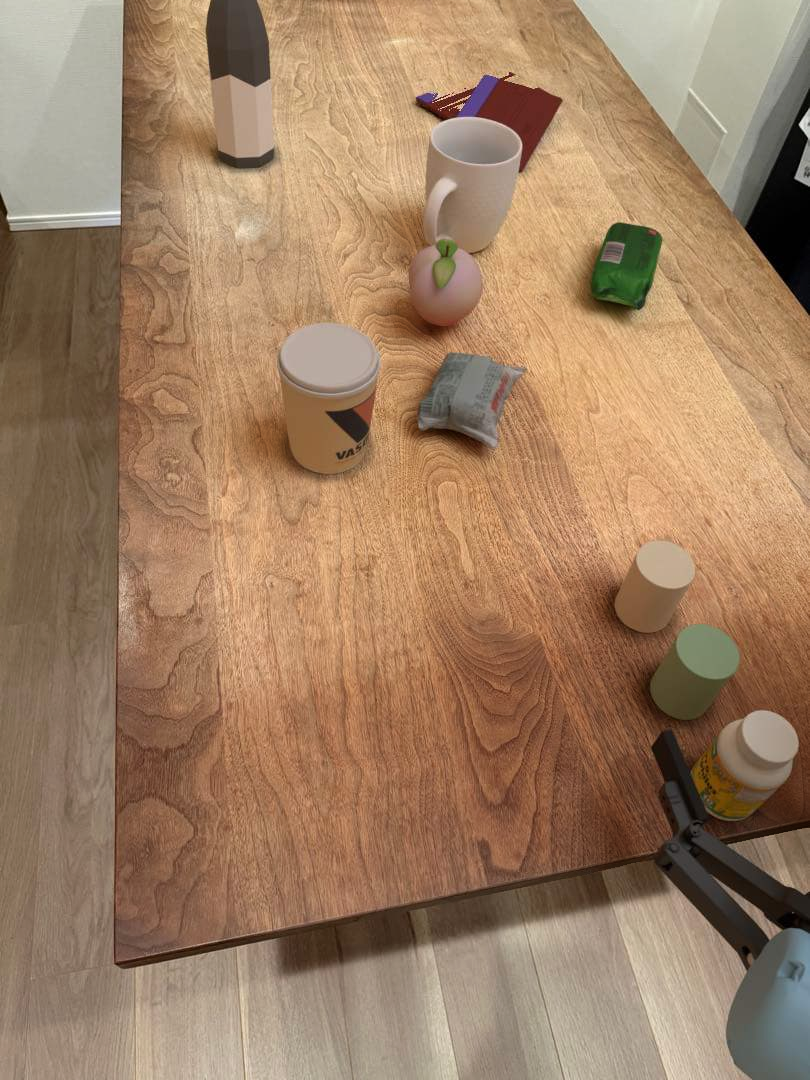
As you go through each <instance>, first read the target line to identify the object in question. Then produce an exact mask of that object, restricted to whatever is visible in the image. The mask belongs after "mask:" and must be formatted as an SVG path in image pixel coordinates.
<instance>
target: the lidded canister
mask: <svg viewBox="0 0 810 1080" xmlns="http://www.w3.org/2000/svg"><path fill="white" fill-rule="evenodd" d="M375 345H376V344H375V343H374V342H373V341H372V339H371V338H370V337H369V336H367V334H365V333H364V332H363V331H360V330H359V329H357V328H355V327H353V326H350V325H347V324H343V323H336V322H318V323H312V324H308V325H305V326H303V327H300V328H298V329H296V330H295V331H293V332H292V333H290V334H289V335H288V336H287V337H286V338H285V340H284V341H283V342H282V344H281V346H280V347H279V350H278V353H277V355H276V356H277V358H276V366H277V370H278V373H279V379H280V381H279V382H280V387H281V394H282V402H283V409H284V416H285V424H286V430H287V436H288V437H287V438H288V442H289V448H290V453H291V454H292V456H293V458H294V460H295V461H296V462H297V463H298V464H299V465H300V466H302V467H303V468H305V469H307V470H309V471H311V472H313V473H317V474H324V475H336V474H342V473H345V472H347V471H348V472H349V470H352V469H353V468H355V467H356V466H358V464H360V463H361V461H362V460H363V458H364V457H365V455H366V452H367V448H368V443H369V438H370V431H371V425H372V420H373V419H372V418H373V414H374V413H373V411H374V405H375V398H376V392H377V384H378V377H379V374H380V370H381V356H380V352H379V351H378V349H377V347H376V346H375Z"/></svg>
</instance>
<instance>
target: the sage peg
mask: <svg viewBox="0 0 810 1080" xmlns="http://www.w3.org/2000/svg"><path fill="white" fill-rule="evenodd" d="M740 658H741V657H740V651H739V648H738V646H737V645H736V642H735V641H734V640H733V639H732V637H730V636H729V635H728V634H727V633H726V632H725V631H724V630H722V629H720V628H718V627H715V626H713V625H710V624H705V623H695V624H691V625H688V626H686V627H684V628H682V630H681V631H680V632H679V633H678V634H677V636H676V638H675V640H673V642H672V644H671V646H670V648H669V649H668V650H667V653H666V654H665V656H664V657H663V659H662V661H661V662H660V664H659V666H658V667H657V669H656V671H655V672H654V673H653V676H652V677H651V679H650V683H649V690H650V695H651V698H652V700H653V702H654V704H655V705H656V706H657V707H658V709H660V710H661V711H662V712H663V713H664V714H665V715H667V716H669V717H671V718H674V719H676V720H681V721H691V720H695V719H697V718H700V717H701V716H702V715H704V713H706V711H707V710H708V708H709V707H710V706H711V704H712V703H713V702H714V701H715V699H716V698H717V697H718V696H719V694H720V693H721V692H722V690H723V689H724V687H725V686H726V685H727V684H728V682H729V681H730V680H731V678H732V677H733V676H734V674H735V673H736V671H737V670H738V669H739V666H740V661H741V659H740Z"/></svg>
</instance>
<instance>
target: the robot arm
mask: <svg viewBox="0 0 810 1080" xmlns="http://www.w3.org/2000/svg"><path fill="white" fill-rule="evenodd" d="M650 748H651V751H652V754H653V757H654V760H655V762H656V765H657V767H658V769H659V772H660V774H661V777H662V779H663V781H664V783H663V784H662V785H661V787H660V788H659V789H658V799H659V802H660V804H661V806H662V807H661V808H662V809H663V811H664V815H665V816H666V819H667V822H668V824H669V827H670V831H671V834H672V837H671V838H669V839H666V841H664V843H663V844H662V845H661V846H660V847H659V849H657V851H656V852H655V853H654V854H653V863H654V864H655V866H656V867H657V868H658V869H659V870H660V871H661V872H662V873H663V875H665V876H666V877H667V878H668V879H669V881H670V882H671V883H672V884H673V885H674V886H675V887H676V888H677V889H678V890H679V891H680V893H681V894H682V895H683V896H684V897H685V898H686V899H687V900H688V901H689V902H690V903H691V904H692V906H693V907H694V908H695V909H696V910H697V911H698V912H699V913H700V914H701V916H703V917H704V919H705V920H706V921H707V922H708V923H709V924H710V925H711V926H712V927H713V929H715V930H716V932H717V933H718V934H719V935H720V936H721V937H722V938H723V939H724V940H725V941H726V942H727V944H728V945H730V947H731V948H732V949H733V950H734V951H735V953H737V955H738V958H740V961H741V962H742V965H743V966H744V969H745V970H746V973H745V975H744V976H743V978H742V980H741V982H740V984H739V986H738V988H737V990H736V992H735V995H734V998H733V1000H732V1003H731V1005H730V1009H729V1011H728V1014H727V1021H726V1026H725V1040H726V1046H727V1049H728V1052H729V1054H730V1057H731V1059H732V1061H733V1064H734V1065H735V1066H736V1068H738V1070H740V1071H741V1072H742V1073H743V1074H744V1075H746V1076H747V1077H748V1078H749V1079H750V1080H810V891H808V892H806V893H803V892H801V891H800V890H799V889H796V887H795V888H794V887H792V886H787V885H785V884H783V883H782V882H780V881H778V879H776V878H774V877H773V876H771V875H770V874H768V873H767V872H766V871H764V870H763V869H762V868H760V867H758V865H756V864H755V863H753V862H751V861H750V860H748V859H747V858H746V857H744V856H743V855H742V854H740V853H739V852H737V851H736V850H734V849H733V848H731V847H730V846H728V845H727V844H726V843H724V842H722V841H721V840H720V839H718V838H717V837H716V836H714V835H712V833H710V832H709V831H707V830H706V829H704V828H703V826H704V825H705V824H706V823H707V822H708V821H709V820H710V816H709V813H708V812H707V811H706V809H705V806H704V804H703V802H702V799H701V797H700V795H699V792H698V790H697V788H696V785H695V783H694V780H693V778H692V776H691V771H690V768H689V767H688V764H687V762H686V759H685V757H684V755H683V752H682V750H681V747H680V745H679V743H678V741H677V737H676V736H675V734H674V731H673V729H671V728H670V729H665V730H662V731H661V732H660V733H659V734H658V736H657V738H656V739H655V740H654V741H653V743H652V745H651V746H650ZM718 881H719V882H718ZM720 883H722V884H723V885H725V886H726V888H728V889H730V890H731V891H733V892H734V893H735V894H737V895H739V897H741V898H742V899H744V900H745V901H747V902H748V903H750V904H751V905H752V906H754V907H756V908H757V909H758V910H759V911H761V912H762V913H763V917H764V918H766V920H768V921H769V922H770V923H772V924H773V925H775V926H776V927H777V928H779V929H780V931H779V932H777V933H776V934H775V935H774V936H772V937H771V938H770V937H768V935H767V934H766V933H765V931H764V930H763V929H762V928H761V926H760V925H759V924H758V923H757V922H756V921H755V920H754V919H753V918H752V916H751V915H749V914H748V913H747V911H745V909H744V908H743V907H742V906H741V905H740V904H739V903H738V902H737V901H736V900H735V899H734V898H733V896H731V894H730V893H728V891H727V890H726V889H725V888H724V887H723V886H722V885H721V884H720Z"/></svg>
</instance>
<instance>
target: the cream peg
mask: <svg viewBox="0 0 810 1080" xmlns="http://www.w3.org/2000/svg"><path fill="white" fill-rule="evenodd" d="M695 575H696V564H695V562H694V560H693V557H692V556H691V555H690V554H689V552H687V550H685V549H684V548H683V547H681V546H680V545H678V544H676V543H674V542H671V541H668V540H651V541H648V542H646V543H644V544H642V545H641V546H640V547H639V548H638V550H637V552H636V554H635V556H634V558H633V560H632V562H631V565H630V567H629V569H628V571H627V573H626V575H625V577H624V579H623V582H622V584H621V585H620V588H619V590H618V592H617V594H616V596H615V599H614V610H615V613H616V615H617V618H618V619H619V620H620V621H621V622H622V623H623V624H624V625H625V626H626V627H628V628H629V629H631V630H633V631H636V632H639V633H642V634H643V633H644V634H651V633H657V632H659V631H661V630H663V629H664V628H665V627H666V626H667V625H668V623H669V622H670V620H671V618H672V616H673V615H674V613H675V611H676V609H678V606H679V605H680V603H681V601H682V599H683V597H684V596H685V595H686V592H687V591H688V589H689V587H690V585H691V584H692V581H693V580H694V578H695Z"/></svg>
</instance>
